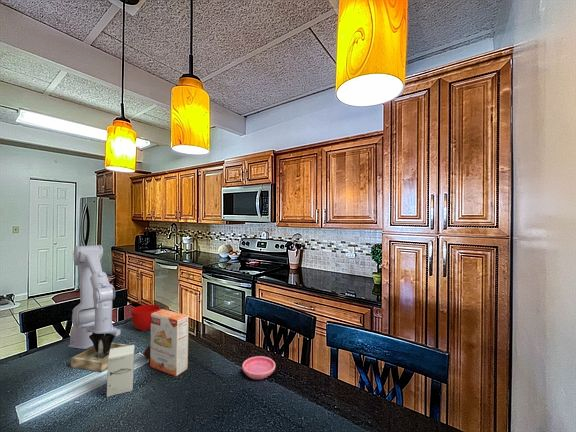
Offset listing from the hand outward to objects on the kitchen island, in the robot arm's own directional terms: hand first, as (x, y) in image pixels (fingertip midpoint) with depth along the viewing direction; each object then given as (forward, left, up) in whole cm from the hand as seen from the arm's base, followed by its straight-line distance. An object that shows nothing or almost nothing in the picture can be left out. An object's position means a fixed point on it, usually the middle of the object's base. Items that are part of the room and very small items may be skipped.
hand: (102, 351), depth 107 cm
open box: (0, 0, -3) cm, 3 cm away
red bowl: (-4, +30, -4) cm, 30 cm away
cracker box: (+29, +1, -4) cm, 29 cm away
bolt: (+16, +12, -4) cm, 20 cm away
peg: (0, 0, -2) cm, 2 cm away
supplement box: (+21, -13, -4) cm, 25 cm away
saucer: (+63, +7, -4) cm, 64 cm away
